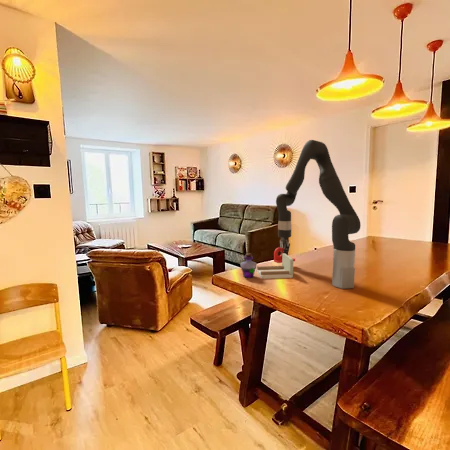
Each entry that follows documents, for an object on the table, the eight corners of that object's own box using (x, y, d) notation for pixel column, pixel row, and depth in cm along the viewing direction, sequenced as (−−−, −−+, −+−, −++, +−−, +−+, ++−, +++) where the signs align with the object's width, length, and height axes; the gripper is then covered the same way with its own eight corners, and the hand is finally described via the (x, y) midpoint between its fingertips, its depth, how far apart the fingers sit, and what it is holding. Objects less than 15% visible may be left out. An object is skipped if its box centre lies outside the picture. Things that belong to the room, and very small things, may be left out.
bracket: (278, 263, 160) (278, 249, 160) (273, 261, 165) (273, 248, 164) (296, 261, 165) (296, 247, 164) (291, 259, 169) (291, 246, 168)
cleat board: (292, 277, 145) (293, 259, 144) (261, 278, 144) (262, 260, 143) (284, 270, 159) (285, 253, 158) (256, 270, 158) (256, 254, 157)
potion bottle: (250, 280, 142) (250, 256, 140) (236, 276, 148) (236, 253, 146) (260, 276, 148) (260, 253, 147) (247, 273, 154) (247, 251, 153)
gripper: (295, 230, 158) (294, 260, 160) (287, 227, 172) (286, 255, 173) (281, 230, 157) (281, 261, 159) (275, 227, 171) (274, 255, 173)
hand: (284, 258), depth 166 cm, fingers closed on bracket, 1 cm apart
